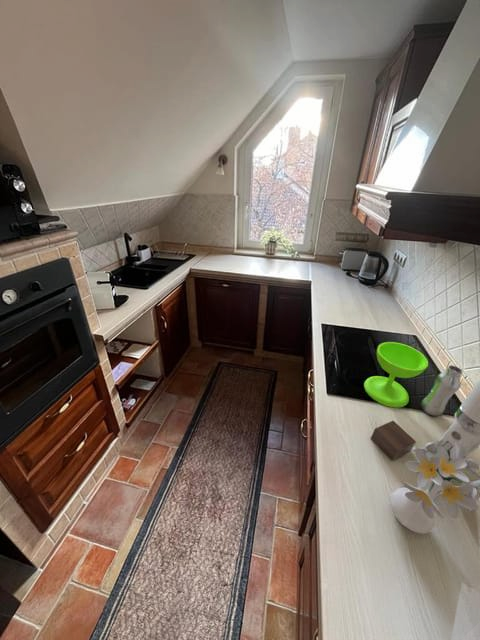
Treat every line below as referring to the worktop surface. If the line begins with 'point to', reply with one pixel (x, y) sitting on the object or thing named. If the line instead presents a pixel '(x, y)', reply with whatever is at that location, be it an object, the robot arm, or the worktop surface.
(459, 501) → the flower vase
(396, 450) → the walnut block
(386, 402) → the wineglass
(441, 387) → the plastic bottle
